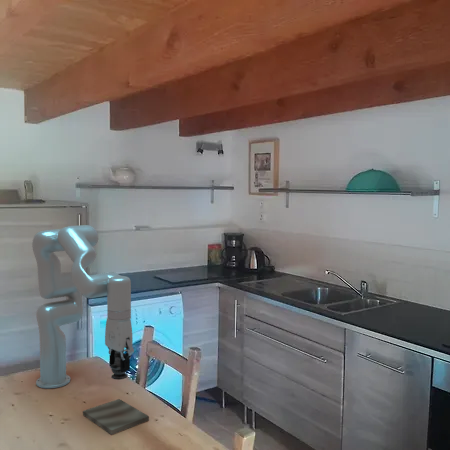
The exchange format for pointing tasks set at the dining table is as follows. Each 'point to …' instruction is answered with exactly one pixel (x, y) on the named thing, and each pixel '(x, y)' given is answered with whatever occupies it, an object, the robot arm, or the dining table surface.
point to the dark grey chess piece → (117, 368)
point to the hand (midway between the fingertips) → (119, 367)
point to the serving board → (115, 416)
